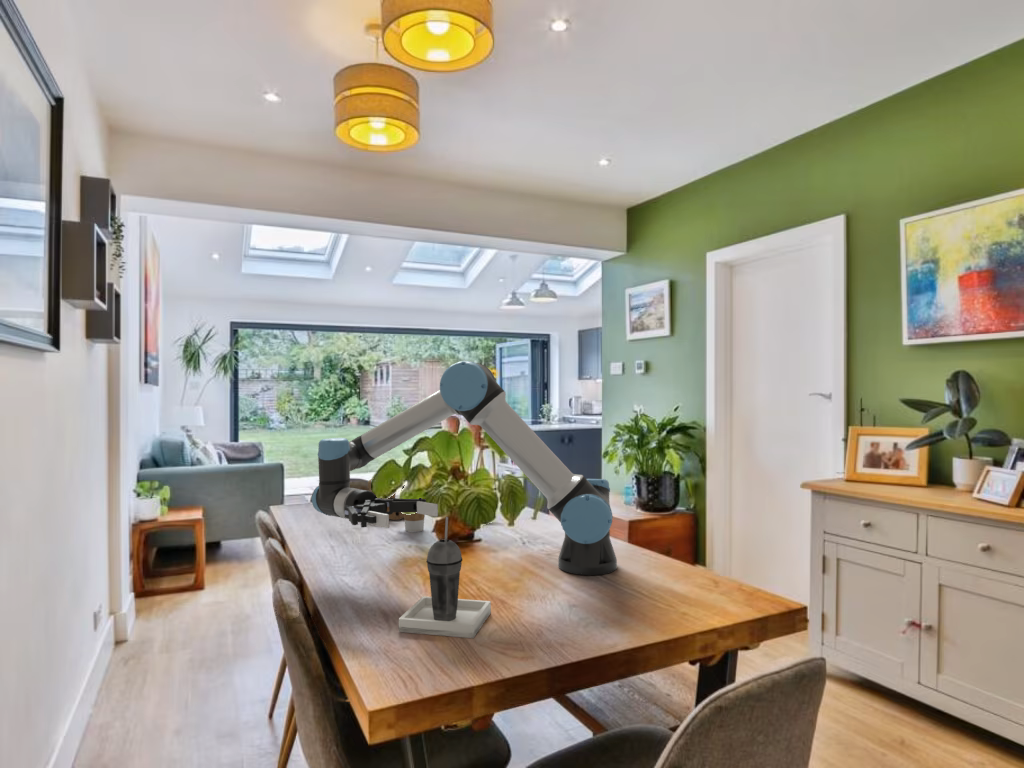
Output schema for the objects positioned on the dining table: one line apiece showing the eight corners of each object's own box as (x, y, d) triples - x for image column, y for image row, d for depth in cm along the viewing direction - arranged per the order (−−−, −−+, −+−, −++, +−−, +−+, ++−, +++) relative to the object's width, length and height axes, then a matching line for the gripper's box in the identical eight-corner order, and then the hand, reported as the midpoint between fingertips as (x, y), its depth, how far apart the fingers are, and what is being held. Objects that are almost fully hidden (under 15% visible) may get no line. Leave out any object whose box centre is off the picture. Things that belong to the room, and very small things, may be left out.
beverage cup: (419, 621, 122) (419, 520, 122) (437, 608, 128) (437, 513, 128) (452, 626, 119) (451, 523, 119) (469, 613, 126) (468, 515, 126)
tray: (490, 613, 128) (490, 601, 128) (473, 638, 116) (473, 625, 116) (423, 607, 132) (422, 596, 132) (398, 631, 119) (398, 618, 119)
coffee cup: (422, 533, 198) (421, 487, 198) (397, 532, 200) (397, 486, 200) (430, 527, 206) (430, 482, 206) (407, 526, 208) (406, 482, 208)
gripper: (398, 511, 158) (455, 522, 144) (310, 530, 139) (365, 544, 125) (398, 482, 158) (454, 490, 144) (309, 497, 139) (364, 507, 125)
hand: (413, 515), depth 134 cm, fingers open, 13 cm apart
